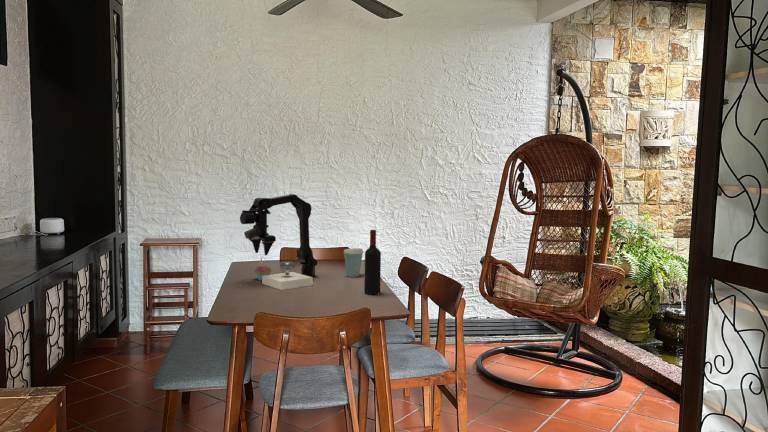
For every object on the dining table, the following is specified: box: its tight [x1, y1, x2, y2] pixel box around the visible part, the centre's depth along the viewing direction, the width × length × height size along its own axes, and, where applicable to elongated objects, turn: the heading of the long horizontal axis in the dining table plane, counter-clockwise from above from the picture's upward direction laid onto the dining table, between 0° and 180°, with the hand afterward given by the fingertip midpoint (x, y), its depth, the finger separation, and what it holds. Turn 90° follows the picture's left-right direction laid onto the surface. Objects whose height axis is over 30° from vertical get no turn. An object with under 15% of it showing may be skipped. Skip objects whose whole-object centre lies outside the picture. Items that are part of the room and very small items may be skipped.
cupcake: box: [254, 257, 272, 281], centre depth 325 cm, size 9×8×12 cm
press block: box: [261, 271, 314, 291], centre depth 313 cm, size 18×18×4 cm
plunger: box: [279, 261, 295, 275], centre depth 313 cm, size 7×7×6 cm
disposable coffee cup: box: [343, 247, 364, 278], centre depth 337 cm, size 11×11×15 cm
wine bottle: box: [363, 229, 382, 295], centre depth 295 cm, size 8×8×30 cm
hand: (261, 254), depth 315 cm, fingers open, 9 cm apart
